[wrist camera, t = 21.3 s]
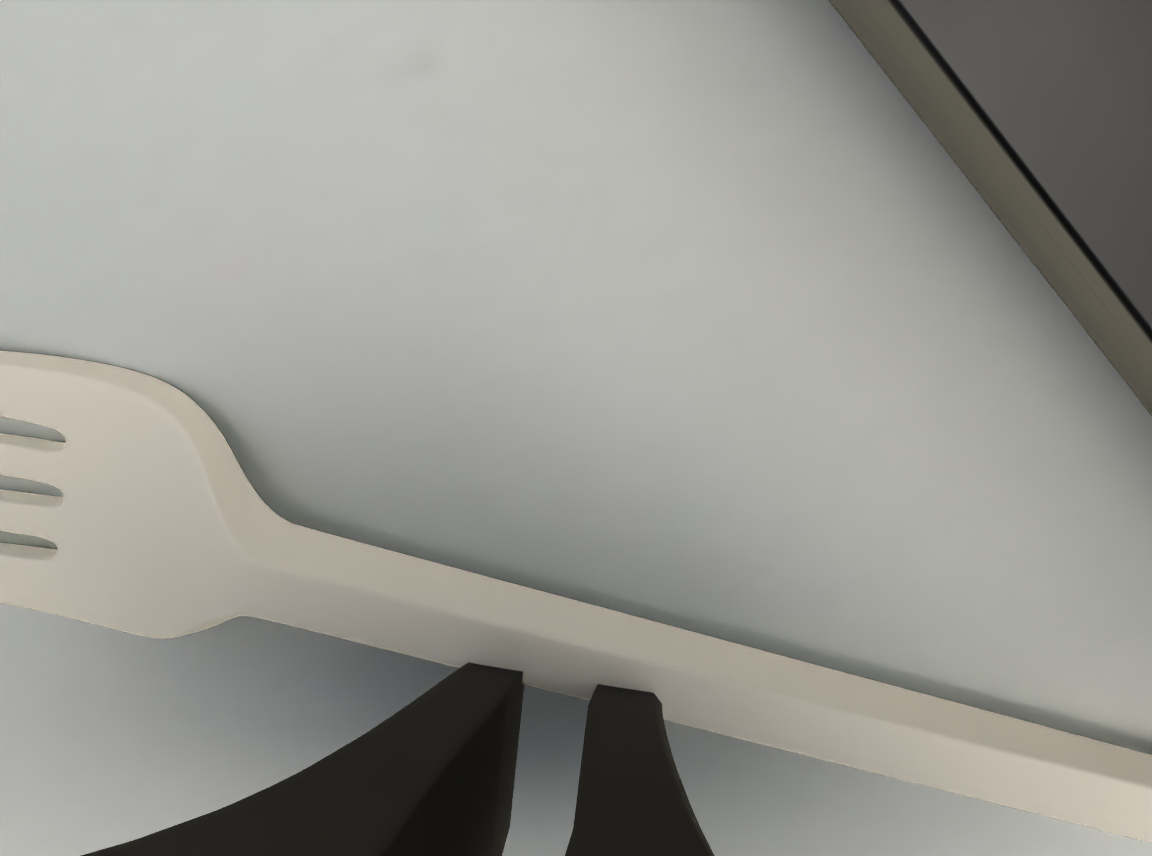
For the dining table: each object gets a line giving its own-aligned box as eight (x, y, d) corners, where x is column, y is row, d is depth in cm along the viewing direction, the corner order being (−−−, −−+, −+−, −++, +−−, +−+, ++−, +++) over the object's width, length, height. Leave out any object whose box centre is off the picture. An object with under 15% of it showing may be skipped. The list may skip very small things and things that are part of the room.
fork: (1394, 970, 12) (1502, 1115, 11) (-211, 529, 14) (-352, 587, 12) (1528, 723, 11) (1671, 836, 10) (-213, 282, 13) (-366, 308, 11)
